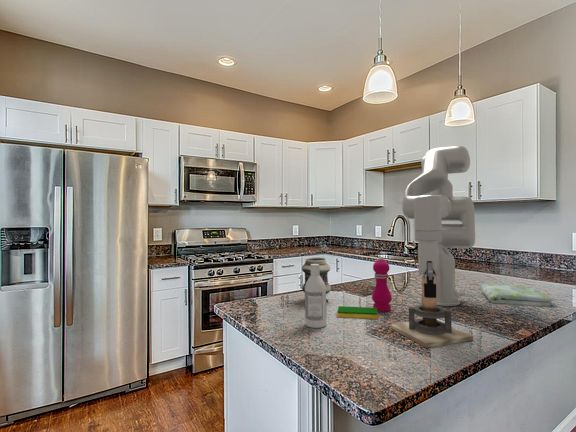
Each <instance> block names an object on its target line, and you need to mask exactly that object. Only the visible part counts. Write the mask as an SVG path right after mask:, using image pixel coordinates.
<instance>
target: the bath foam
mask: <svg viewBox="0 0 576 432" xmlns="http://www.w3.org/2000/svg"><path fill="white" fill-rule="evenodd" d="M310 267H311V276H310V277H309V279H308V281H307V282H306V285H305V293H304V317H305V319H304V320H305V326H307V327H308V328H312V329H319V328H324V327H326V326H327V303H326V299H327V294H326V287H325V284H324V282H323V280H322V278H321V277H320V275H319V264H311V265H310Z"/></svg>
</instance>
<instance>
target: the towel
mask: <svg viewBox="0 0 576 432" xmlns="http://www.w3.org/2000/svg"><path fill="white" fill-rule="evenodd" d="M479 286H480V287H479V289H480V291H481V292H482V294H483V295H484V296H485V297H486V298H487V299H488V301H489V302H491V303H492V304H500V305H501V304H502V305H514V306H529V307H546V308H547V307H550V306H551V302H553V299H552V297H551V295H549V294H548V293H546V292H545V291H543V290H541V289H538V288H536V287H532V286H521V285H520V286H519V285H511V284H503V283H496V282H495V283H494V282H485V283H482V284H480V285H479Z"/></svg>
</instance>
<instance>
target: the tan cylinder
mask: <svg viewBox="0 0 576 432" xmlns="http://www.w3.org/2000/svg"><path fill="white" fill-rule="evenodd" d="M424 283H425V276H424V275H423V274H422V276H421V305H422V311H427V312H437V306H438V305H437V293H436V298H426V297H424ZM435 284H436V285H437V282H436V276H435ZM421 319H422V325H424V326H429V327H437V320H438V318H437V319H436V318H425V317H421Z"/></svg>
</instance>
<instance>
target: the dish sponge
mask: <svg viewBox="0 0 576 432" xmlns="http://www.w3.org/2000/svg"><path fill="white" fill-rule="evenodd" d="M378 312H379V311H377V308H373V307H370V306H369V307H366V306H364V307H362V306H338V308H337V314H336V315H337V318H351V319H365V320H366V319H368V320H370V319H371V320H377V319H379V314H378Z"/></svg>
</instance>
